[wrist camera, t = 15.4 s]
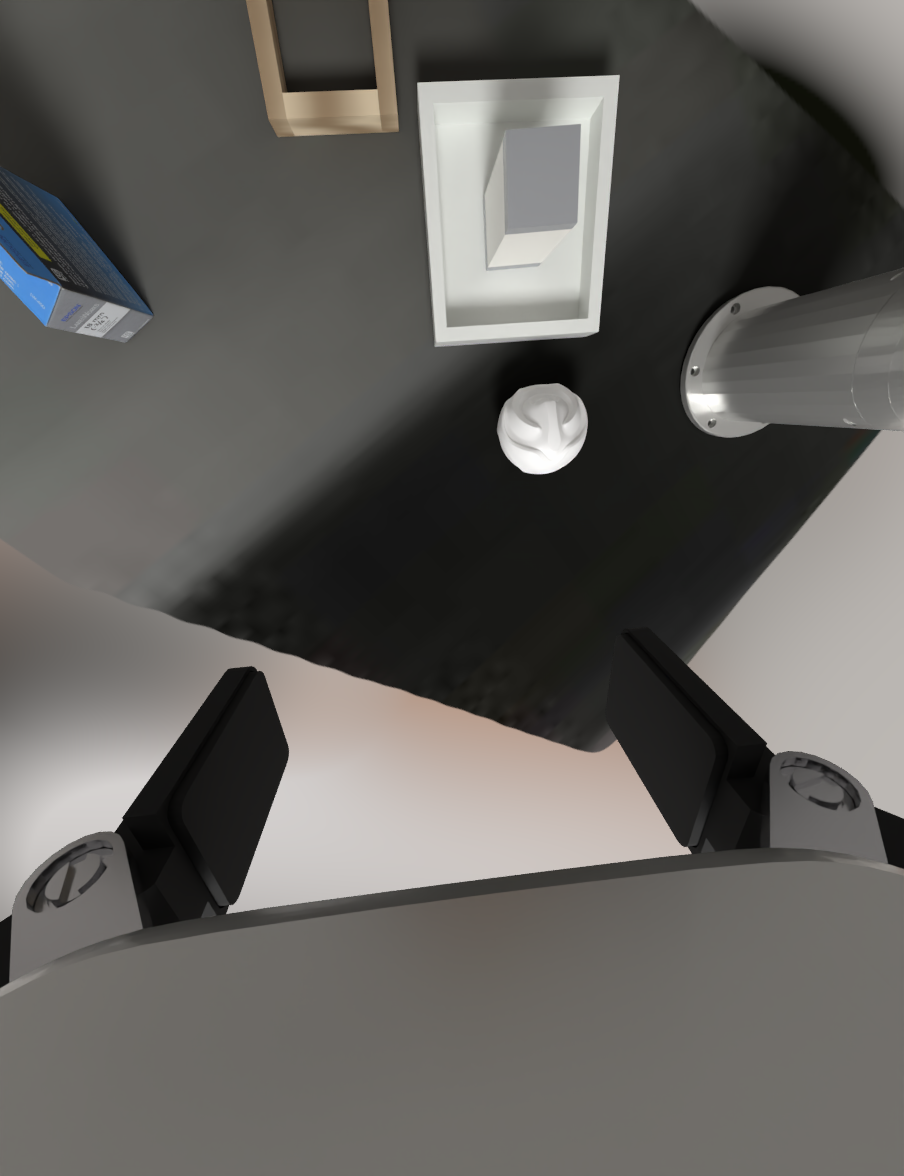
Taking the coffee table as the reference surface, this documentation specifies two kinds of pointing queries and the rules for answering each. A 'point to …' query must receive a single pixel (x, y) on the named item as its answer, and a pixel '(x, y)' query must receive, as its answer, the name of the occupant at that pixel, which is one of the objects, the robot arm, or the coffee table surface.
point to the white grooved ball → (542, 427)
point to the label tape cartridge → (62, 267)
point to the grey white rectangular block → (531, 195)
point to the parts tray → (455, 208)
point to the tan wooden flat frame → (325, 107)
